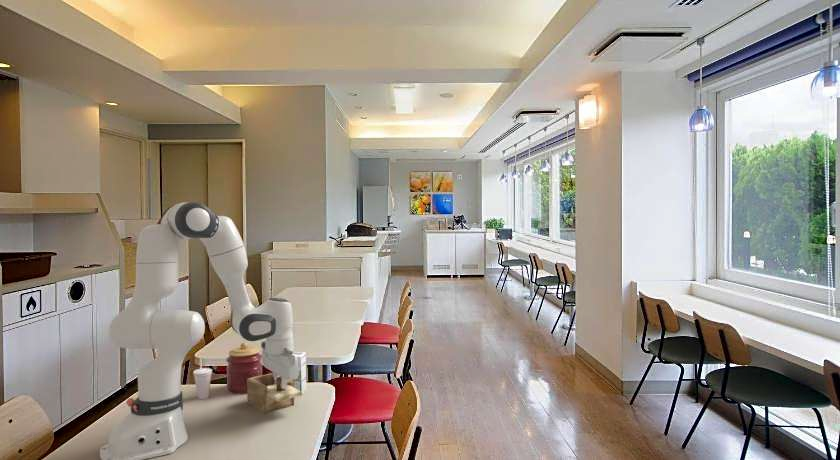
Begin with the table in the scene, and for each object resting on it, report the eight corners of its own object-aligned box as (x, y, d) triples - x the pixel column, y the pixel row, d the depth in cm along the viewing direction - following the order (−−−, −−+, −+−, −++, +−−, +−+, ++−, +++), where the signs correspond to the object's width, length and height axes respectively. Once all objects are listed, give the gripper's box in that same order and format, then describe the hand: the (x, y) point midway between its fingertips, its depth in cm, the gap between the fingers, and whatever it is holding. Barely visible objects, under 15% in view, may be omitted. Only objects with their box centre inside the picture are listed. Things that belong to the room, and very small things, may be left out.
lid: (277, 401, 167) (277, 385, 166) (261, 391, 176) (260, 376, 176) (301, 395, 172) (300, 379, 172) (284, 385, 182) (284, 370, 181)
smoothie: (196, 394, 191) (195, 357, 190) (214, 393, 192) (213, 355, 191) (191, 400, 184) (190, 362, 184) (210, 399, 185) (209, 360, 185)
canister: (219, 391, 193) (217, 345, 193) (243, 380, 205) (242, 336, 204) (246, 396, 188) (245, 348, 188) (270, 384, 200) (269, 339, 199)
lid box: (263, 413, 172) (263, 389, 172) (247, 401, 183) (246, 378, 183) (294, 405, 179) (293, 381, 179) (276, 394, 190) (276, 372, 190)
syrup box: (306, 389, 195) (306, 351, 194) (301, 395, 189) (301, 356, 188) (292, 389, 195) (291, 351, 195) (286, 394, 189) (285, 355, 189)
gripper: (303, 350, 168) (303, 392, 168) (275, 338, 183) (276, 377, 184) (284, 354, 164) (285, 397, 164) (258, 341, 179) (259, 381, 180)
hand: (280, 386), depth 174 cm, fingers closed on lid, 3 cm apart
